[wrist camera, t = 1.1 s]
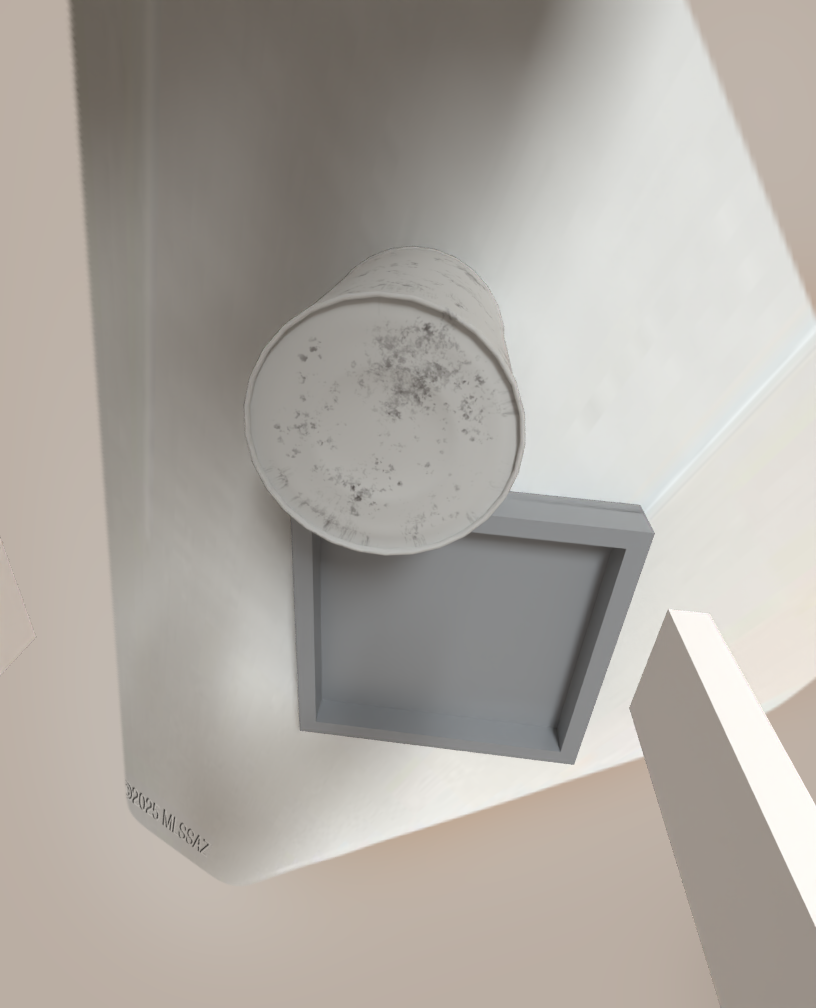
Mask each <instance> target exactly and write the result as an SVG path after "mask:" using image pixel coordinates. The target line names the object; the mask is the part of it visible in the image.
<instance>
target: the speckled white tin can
mask: <svg viewBox="0 0 816 1008" xmlns="http://www.w3.org/2000/svg"><path fill="white" fill-rule="evenodd" d="M244 423H245V437H246V441H247V444H248V448H249V451H250V455H251V459H252V462H253V465H254V467H255V468H256V470H257V472H258V474H259V476H260V478H261V480H262V482H263V484H264V486H265V487H266V489H267V490H268V492H269V493H270V494H271V495H272V496H273V498H274V499H275V500H276V501H277V503H278V504H279V505H280V506H281V507H282V509H283V510H284V511H285V512H286V513H288V514H289V515H290V516H291V517H292V518H294V519H295V520H296V521H297V522H298V523H300V524H301V525H302V526H303V527H305V528H306V529H307V530H309V531H311V532H313V533H314V534H316V535H318V536H320V537H322V538H324V539H325V540H327V541H329V542H331V543H334V544H337V545H340V546H343V547H345V548H348V549H351V550H354V551H357V552H364V553H371V554H378V555H385V556H387V555H410V554H417V553H421V552H425V551H429V550H434V549H438V548H441V547H443V546H445V545H448V544H450V543H452V542H454V541H456V540H458V539H461V538H463V537H465V536H466V535H468V534H469V533H470V532H472V531H473V530H474V529H476V528H477V527H478V526H480V525H481V524H482V523H484V522H485V521H486V520H487V519H488V518H489V517H490V516H491V515H492V514H493V512H494V511H495V510H496V509H497V508H498V507H499V505H500V504H501V503H502V502H503V501H504V499H505V498H506V497H507V495H508V493H509V491H510V489H511V487H512V485H513V483H514V481H515V479H516V477H517V475H518V473H519V469H520V465H521V461H522V456H523V452H524V448H525V412H524V408H523V405H522V401H521V397H520V393H519V390H518V386H517V382H516V380H515V378H514V376H513V373H512V369H511V364H510V360H509V355H508V351H507V347H506V342H505V338H504V325H503V321H502V318H501V314H500V310H499V306H498V304H497V302H496V300H495V299H494V297H493V295H492V293H491V291H490V289H489V287H488V286H487V285H486V284H485V282H484V281H483V280H482V279H481V278H480V277H479V276H478V274H477V273H476V272H475V271H474V270H473V269H471V268H470V267H469V266H467V265H466V264H464V263H463V262H461V261H460V260H459V259H457V258H456V257H454V256H451V255H448V254H446V253H443V252H441V251H438V250H436V249H430V248H422V247H415V246H410V247H402V248H393V249H389V250H386V251H384V252H381V253H378V254H376V255H373V256H370V257H369V258H367V259H366V260H365V261H363V262H362V263H360V264H359V265H357V266H356V267H355V268H353V269H352V270H351V271H350V272H349V273H348V274H347V276H346V277H345V278H344V279H343V280H342V281H341V282H339V283H338V284H337V285H336V286H335V287H334V288H332V289H331V290H330V291H329V292H328V293H326V294H325V295H324V296H323V297H322V298H320V299H319V300H318V301H317V302H316V303H314V304H313V305H312V306H310V307H309V308H307V309H306V310H304V311H303V312H301V313H300V314H299V315H297V316H296V317H294V318H293V319H291V320H290V321H288V322H287V323H285V324H284V325H283V326H282V327H281V329H280V330H279V331H278V332H277V333H276V334H275V336H274V337H273V338H272V339H271V340H270V341H269V343H268V344H267V345H266V346H265V347H264V348H263V350H262V352H261V354H260V356H259V358H258V360H257V362H256V364H255V367H254V369H253V371H252V373H251V375H250V377H249V382H248V387H247V392H246V397H245V402H244Z"/></svg>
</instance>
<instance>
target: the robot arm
mask: <svg viewBox="0 0 816 1008" xmlns="http://www.w3.org/2000/svg"><path fill="white" fill-rule="evenodd" d="M35 638H36V635H35V632H34V629H33V627H32V624H31V621H30V618H29V615H28V613H27V610H26V607H25V604H24V602H23V599H22V596H21V593H20V590H19V588H18V585H17V582H16V579H15V576H14V573H13V571H12V568H11V565H10V562H9V560H8V557H7V554H6V551H5V548H4V545H3V543H2V540H1V537H0V675H1V674H2V673H3V672H4V671H5V670H6V669H7V668H8V667H9V666H10V665H11V664H12V663H13V662H14V660H15V659H16V658H17V657H18V656H19V655H20V654H21V653H22V652H23V651H24V650H25V649H26V648H27V646H28V645H29V644H30V643H31V642H32V641H33V640H34V639H35ZM629 709H630V712H631V715H632V718H633V722H634V725H635V728H636V732H637V735H638V738H639V741H640V745H641V748H642V751H643V755H644V758H645V761H646V764H647V768H648V771H649V774H650V778H651V781H652V784H653V787H654V791H655V794H656V797H657V800H658V804H659V807H660V810H661V814H662V817H663V820H664V823H665V827H666V830H667V833H668V837H669V840H670V843H671V846H672V850H673V853H674V856H675V859H676V863H677V866H678V869H679V873H680V876H681V879H682V883H683V886H684V889H685V892H686V895H687V899H688V902H689V905H690V909H691V912H692V915H693V918H694V922H695V925H696V929H697V932H698V935H699V938H700V942H701V945H702V948H703V951H704V954H705V958H706V961H707V965H708V968H709V971H710V975H711V978H712V981H713V984H714V987H715V991H716V994H717V997H718V1001H719V1004H720V1007H721V1008H816V805H815V804H814V802H813V800H812V798H811V796H810V794H809V793H808V791H807V789H806V787H805V786H804V784H803V782H802V780H801V778H800V776H799V775H798V773H797V771H796V769H795V767H794V766H793V764H792V762H791V760H790V758H789V757H788V755H787V753H786V751H785V749H784V747H783V746H782V744H781V742H780V740H779V738H778V737H777V735H776V733H775V731H774V730H773V728H772V726H771V724H770V722H769V720H768V719H767V717H766V715H765V713H764V711H763V709H762V708H761V706H760V704H759V702H758V700H757V699H756V697H755V695H754V693H753V691H752V690H751V688H750V686H749V684H748V682H747V681H746V679H745V677H744V675H743V673H742V672H741V670H740V668H739V666H738V664H737V662H736V661H735V659H734V657H733V655H732V653H731V652H730V650H729V648H728V646H727V644H726V643H725V641H724V639H723V637H722V635H721V634H720V632H719V630H718V628H717V626H716V625H715V623H714V621H713V619H712V617H711V615H710V614H709V613H700V612H691V611H682V610H673V609H668V611H667V613H666V616H665V618H664V621H663V624H662V626H661V629H660V631H659V634H658V636H657V639H656V641H655V644H654V646H653V649H652V651H651V654H650V657H649V659H648V662H647V664H646V667H645V669H644V672H643V674H642V677H641V679H640V682H639V684H638V687H637V690H636V692H635V695H634V697H633V700H632V702H631V705H630V707H629Z"/></svg>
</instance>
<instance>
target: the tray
mask: <svg viewBox="0 0 816 1008" xmlns="http://www.w3.org/2000/svg"><path fill="white" fill-rule="evenodd" d="M291 531H292V555H293V579H294V603H295V627H296V650H297V674H298V698H299V722H300V731H308V732H316V733H324V734H332V735H340V736H348V737H356V738H364V739H372V740H380V741H388V742H396V743H404V744H412V745H420V746H428V747H436V748H444V749H452V750H460V751H468V752H476V753H484V754H492V755H500V756H508V757H516V758H524V759H532V760H540V761H548V762H556V763H564V764H572V765H574V763H575V760H576V757H577V754H578V751H579V749H580V746H581V743H582V740H583V737H584V734H585V731H586V729H587V726H588V723H589V720H590V717H591V714H592V711H593V708H594V706H595V703H596V700H597V697H598V694H599V691H600V688H601V686H602V683H603V680H604V677H605V674H606V671H607V668H608V666H609V663H610V660H611V657H612V654H613V651H614V648H615V646H616V643H617V640H618V637H619V634H620V631H621V628H622V626H623V623H624V620H625V617H626V614H627V611H628V608H629V605H630V603H631V600H632V597H633V594H634V591H635V588H636V585H637V583H638V580H639V577H640V574H641V571H642V568H643V565H644V563H645V560H646V557H647V554H648V551H649V548H650V545H651V543H652V540H653V537H654V534H655V533H654V531H653V529H652V527H651V525H650V523H649V521H648V519H647V517H646V515H645V513H644V512H643V510H642V508H641V506H640V505H634V504H624V503H615V502H605V501H596V500H586V499H577V498H567V497H558V496H548V495H539V494H529V493H519V492H510V491H509V493H508V495H507V497H506V498H505V499H504V501H503V502H502V503H501V504H500V505H499V507H498V508H497V509H496V510H495V511H494V512H493V514H492V515H491V516H490V517H489V518H488V519H487V520H486V521H485V522H484V523H482V524H481V525H480V526H478V527H477V528H476V529H474V530H473V531H472V532H470V533H469V534H468V535H466V536H465V537H463V538H461V539H458V540H456V541H454V542H452V543H450V544H448V545H445V546H443V547H441V548H438V549H434V550H429V551H425V552H421V553H417V554H410V555H387V556H385V555H378V554H371V553H364V552H357V551H354V550H351V549H348V548H345V547H343V546H340V545H337V544H334V543H331V542H329V541H327V540H325V539H324V538H322V537H320V536H318V535H316V534H314V533H313V532H311V531H309V530H307V529H306V528H305V527H303V526H302V525H301V524H300V523H298V522H297V521H296V520H295V519H294V518H292V517H291Z"/></svg>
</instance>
